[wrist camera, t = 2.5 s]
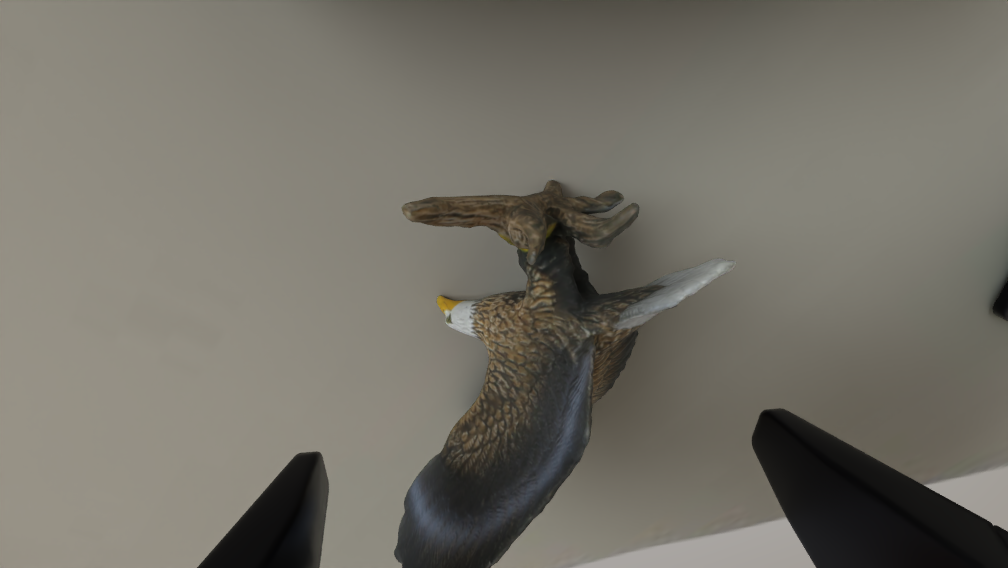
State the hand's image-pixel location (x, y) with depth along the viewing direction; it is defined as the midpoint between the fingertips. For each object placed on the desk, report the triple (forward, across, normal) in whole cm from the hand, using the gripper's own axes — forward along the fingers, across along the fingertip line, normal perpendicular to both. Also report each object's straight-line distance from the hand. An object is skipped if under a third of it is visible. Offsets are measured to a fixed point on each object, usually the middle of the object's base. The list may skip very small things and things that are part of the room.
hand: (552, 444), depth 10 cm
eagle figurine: (+5, 0, 0) cm, 5 cm away
